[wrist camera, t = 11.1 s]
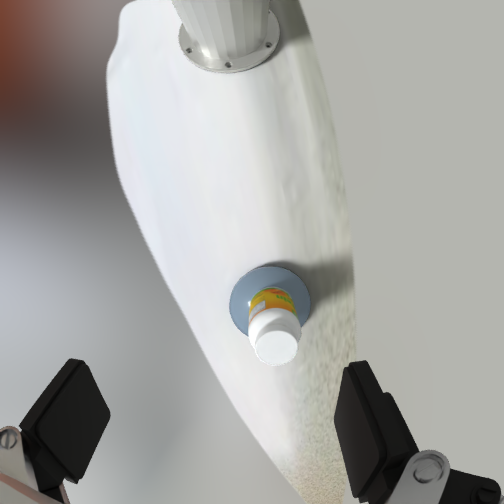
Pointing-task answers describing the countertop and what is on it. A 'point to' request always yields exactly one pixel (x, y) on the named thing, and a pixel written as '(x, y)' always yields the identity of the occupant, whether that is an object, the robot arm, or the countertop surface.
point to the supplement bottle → (273, 326)
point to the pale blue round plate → (263, 279)
